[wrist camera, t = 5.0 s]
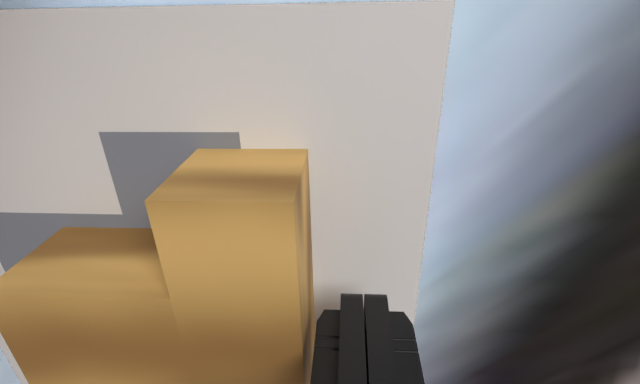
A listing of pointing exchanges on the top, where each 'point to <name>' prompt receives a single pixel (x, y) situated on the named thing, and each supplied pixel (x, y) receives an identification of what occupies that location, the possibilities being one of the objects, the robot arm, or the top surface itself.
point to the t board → (229, 121)
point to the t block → (177, 283)
